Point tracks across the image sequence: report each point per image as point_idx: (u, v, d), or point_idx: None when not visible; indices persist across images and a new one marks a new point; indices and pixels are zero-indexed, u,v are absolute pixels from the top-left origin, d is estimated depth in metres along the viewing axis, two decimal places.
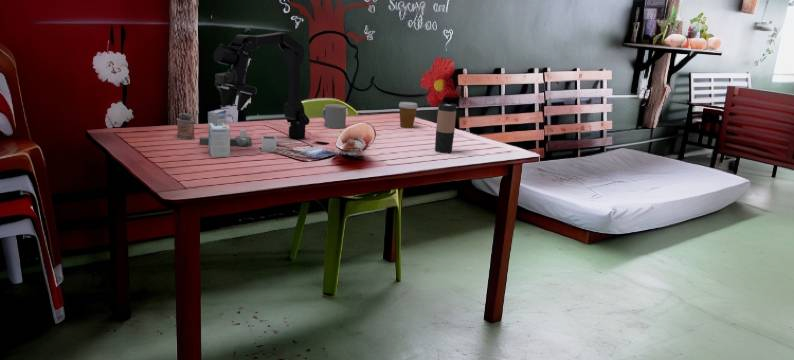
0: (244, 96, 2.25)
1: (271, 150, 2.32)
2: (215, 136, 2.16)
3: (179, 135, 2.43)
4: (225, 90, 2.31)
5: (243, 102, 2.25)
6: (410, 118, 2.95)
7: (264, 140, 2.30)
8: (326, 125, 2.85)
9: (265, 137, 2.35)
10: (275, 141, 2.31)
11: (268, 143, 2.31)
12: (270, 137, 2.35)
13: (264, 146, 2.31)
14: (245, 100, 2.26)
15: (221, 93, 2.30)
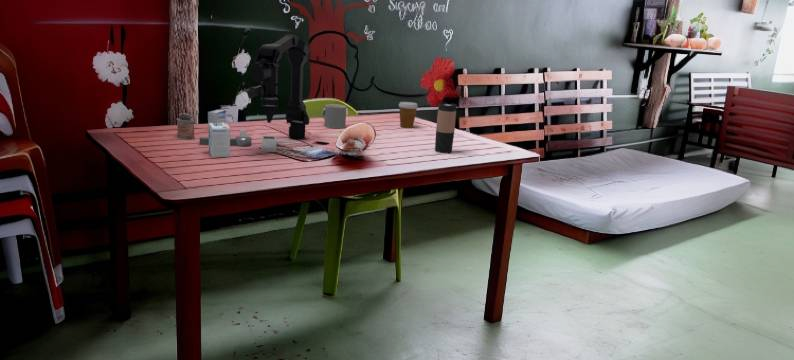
0: (270, 108, 2.24)
1: (271, 150, 2.32)
2: (215, 136, 2.16)
3: (179, 135, 2.43)
4: None
5: (270, 114, 2.25)
6: (410, 118, 2.95)
7: (264, 140, 2.30)
8: (326, 125, 2.85)
9: (265, 137, 2.35)
10: (275, 141, 2.31)
11: (268, 143, 2.31)
12: (270, 137, 2.35)
13: (264, 146, 2.31)
14: (272, 112, 2.25)
15: None
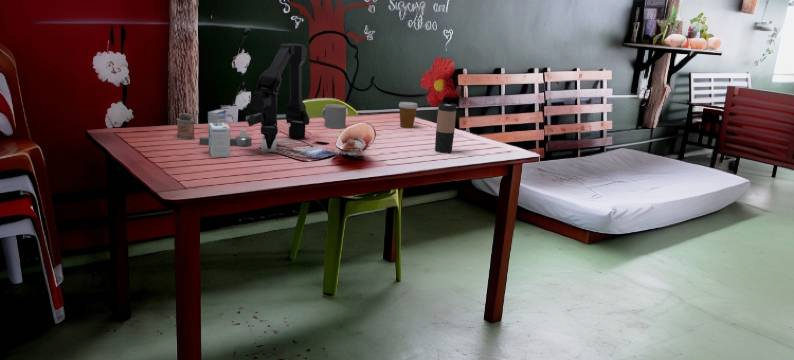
0: (270, 135, 2.29)
1: (271, 150, 2.32)
2: (215, 136, 2.16)
3: (179, 135, 2.43)
4: None
5: (270, 140, 2.29)
6: (410, 118, 2.95)
7: (264, 140, 2.30)
8: (326, 125, 2.85)
9: None
10: (275, 141, 2.31)
11: None
12: None
13: (264, 146, 2.31)
14: (272, 138, 2.29)
15: None
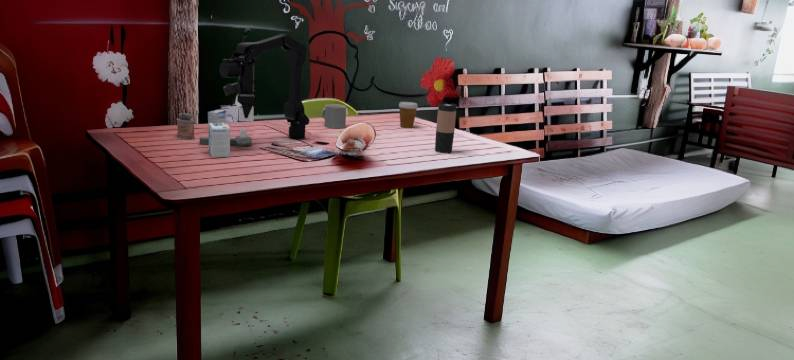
0: (247, 104, 2.30)
1: (248, 119, 2.34)
2: (215, 136, 2.16)
3: (179, 135, 2.43)
4: None
5: (247, 110, 2.31)
6: (410, 118, 2.95)
7: (241, 109, 2.32)
8: (326, 125, 2.85)
9: None
10: (252, 110, 2.33)
11: None
12: None
13: (241, 115, 2.32)
14: (249, 107, 2.31)
15: None
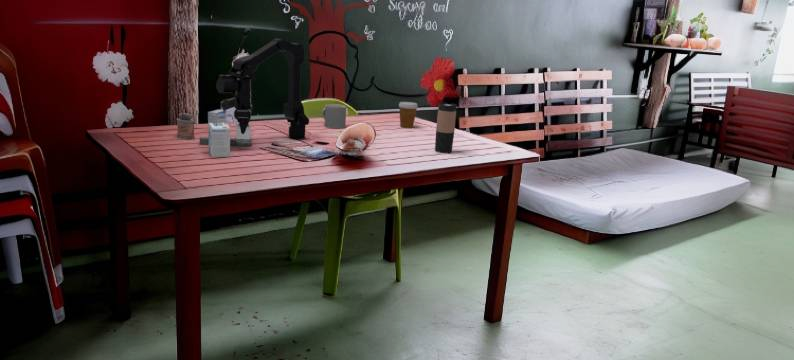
0: (244, 119, 2.31)
1: (245, 137, 2.36)
2: (215, 136, 2.16)
3: (179, 135, 2.43)
4: None
5: (244, 125, 2.32)
6: (410, 118, 2.95)
7: (238, 127, 2.35)
8: (326, 125, 2.85)
9: (239, 125, 2.39)
10: (249, 128, 2.36)
11: None
12: None
13: (238, 133, 2.35)
14: (245, 123, 2.32)
15: None
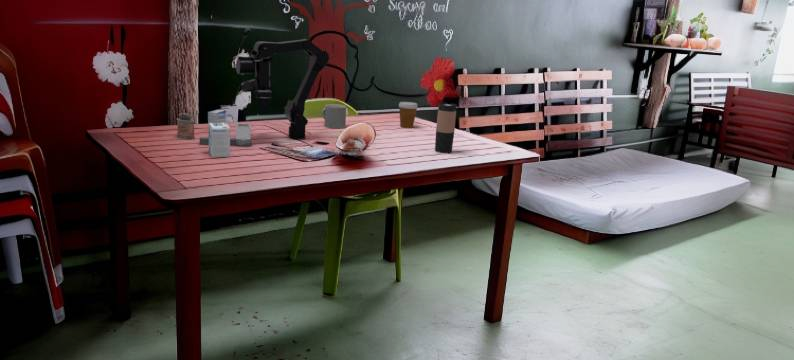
0: (264, 100, 2.41)
1: (245, 137, 2.36)
2: (215, 136, 2.16)
3: (179, 135, 2.43)
4: None
5: (265, 105, 2.42)
6: (410, 118, 2.95)
7: (238, 127, 2.35)
8: (326, 125, 2.85)
9: (239, 125, 2.39)
10: (249, 128, 2.36)
11: (242, 131, 2.35)
12: (244, 125, 2.40)
13: (238, 133, 2.35)
14: (266, 103, 2.42)
15: None
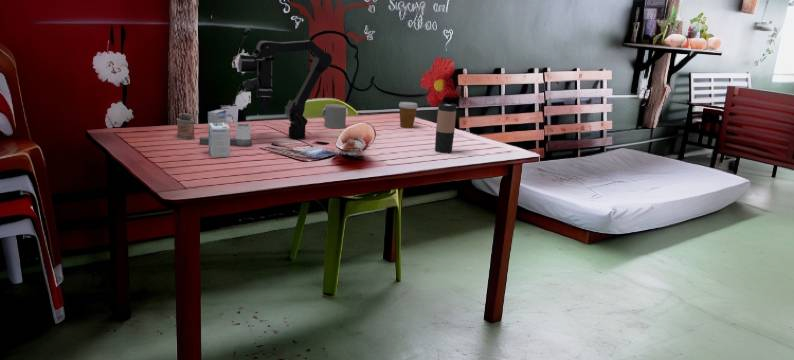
0: (265, 99, 2.42)
1: (245, 137, 2.36)
2: (215, 136, 2.16)
3: (179, 135, 2.43)
4: None
5: (266, 104, 2.43)
6: (410, 118, 2.95)
7: (238, 127, 2.35)
8: (326, 125, 2.85)
9: (239, 125, 2.39)
10: (249, 128, 2.36)
11: (242, 131, 2.35)
12: (244, 125, 2.40)
13: (238, 133, 2.35)
14: (267, 102, 2.43)
15: None
